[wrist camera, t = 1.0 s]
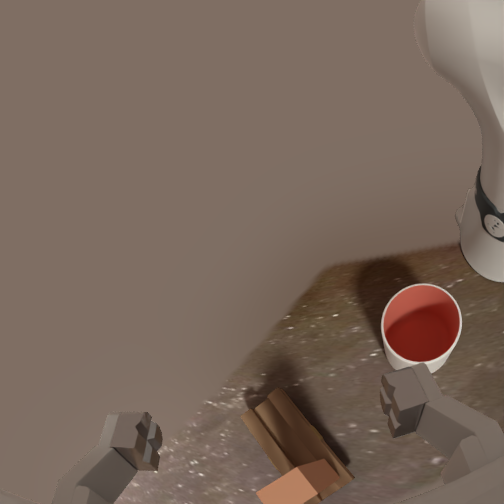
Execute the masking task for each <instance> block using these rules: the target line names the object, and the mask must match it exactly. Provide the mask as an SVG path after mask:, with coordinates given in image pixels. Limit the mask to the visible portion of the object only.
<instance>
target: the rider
mask: <svg viewBox="0 0 504 504" xmlns="http://www.w3.org/2000/svg"><path fill="white" fill-rule="evenodd" d="M339 478H340V477H339V476H338V474H337V473H336V472H335V471H334V470H333V468H332V467H331V466H330V465H329V464H328V462H327V461H326V460H325V459H321V460H318V461H315V462H311V463H308V464H305V465H301V466H297V467H296V468H294V469H293V470H291V471H290V472H288V473H287V474H285V475H284V476H282V477H281V478H279V479H277V480H276V481H274V482H273V483H271V484H269V485H268V486H266V487H265V488H263V489H261V490H260V491H258V492H256V494H257V495H258V497H259V498H260V500H261V501H262V502H263V504H303V503H304V502H306V501H307V500H309V499H311V498H312V497H314V496H315V495H317V494H318V493H320V492H321V491H323V490H324V489H326V488H327V487H328V486H330V485H331V484H332V483H334V482H335V481H337V480H338V479H339Z"/></svg>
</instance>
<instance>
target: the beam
mask: <svg viewBox="0 0 504 504" xmlns="http://www.w3.org/2000/svg"><path fill="white" fill-rule="evenodd" d="M267 396H268V398H267V399H266V400H265V401H264V402H262V403H261V404H260V405H258V406H257V407H256V408H254V409H249V410H248V411H247V412H245V413H244V414H243V415H241V416H240V417H241V418H242V420H243V421H244V423H245V424H246V426H247V427H248V429H249V430H250V431H251V433H252V434H253V436H254V437H255V439H256V440H257V442H258V443H259V444H260V446H261V447H262V449H263V450H264V451H265V453H266V454H267V456H268V458H269V459H270V461H271V462H272V464H273V465H274V466H275V468H276V469H277V470H278V471H279V472H280V473H281V475H282V476H284V475H285V474H287V473H288V472H290V471H291V470H293V469H294V468H296V467H297V466H301V465H305V464H308V463H311V462H315V461H318V460H321V459H325V460H326V461H327V462H328V464H329V465H330V466H331V467H332V468H333V470H334V471H335V472H336V473H337V474H338V476H339V477H340V478H339V479H338V480H337V481H335V482H334V483H332V484H331V485H330V486H328V487H327V488H326V489H324V490H323V491H321V492H320V493H318V494H317V495H315V496H314V497H312V498H311V499H309V500H307V501H306V502H304V504H318V503H319V502H321V501H322V500H323V499H325V498H326V497H328V496H329V495H331V494H332V493H334V492H335V491H337V490H338V489H340V488H342V487H343V486H344V485H346V484H347V483H349V482H350V481H351V480H353V479H354V478H355V477H354V476H353V475H352V473H351V472H350V471H349V470H348V469H347V468H346V466H345V465H344V464H343V463H342V462H341V461H340V459H339V458H338V457H337V456H336V455H335V453H334V452H333V451H332V450H331V449H330V447H329V446H328V445H327V444H326V443H325V441H324V440H323V439H324V438H323V437H322V436H321V435H320V434H319V432H318V431H317V430H316V429H315V427H314V426H311V424H310V423H309V422H308V421H307V419H306V418H305V417H304V416H303V414H302V413H301V412H300V411H299V409H298V408H297V407H296V405H295V404H294V403H293V402H292V400H291V399H290V398H289V397H288V395H287V394H286V393H285V391H284V390H283V389H281V388H279V387H277V388H276V389H275V390H274V391H272V392H271V393H270V394H269V395H267Z"/></svg>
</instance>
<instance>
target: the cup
mask: <svg viewBox="0 0 504 504" xmlns="http://www.w3.org/2000/svg"><path fill="white" fill-rule="evenodd" d="M461 328H462V317H461V312H460V309H459V306H458V304H457V302H456V301H455V299H454V298H453V297H452V296H451V295H450V294H449V293H448V292H447V291H446V290H444V289H442V288H441V287H438V286H436V285H432V284H425V283H423V284H414V285H411V286H408V287H406V288H404V289H402V290H400V291H399V292H398V293H396V294H395V295H394V296H393V297H392V298H391V299H390V301H389V302H388V304H387V305H386V307H385V309H384V312H383V315H382V320H381V332H382V338H383V343H384V349H385V354H386V357H387V359H388V361H389V363H390V364H391V365H392V367H393V368H394V369H395V370H399V369H402V368H405V367H408V366H409V367H410V366H413V365H416V364H419V363H421V362H424V363H425V364H426V365H427V367H428V369H429V371H430V373H433V372H435V371H436V370H438V369H439V368H440V367H441V366H442V365H443V364H444V363H445V361H446V360H447V358H448V356H449V355H450V353H451V351H452V350H453V348H454V346H455V345H456V343H457V341H458V339H459V336H460V333H461Z"/></svg>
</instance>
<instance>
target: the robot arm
mask: <svg viewBox="0 0 504 504" xmlns="http://www.w3.org/2000/svg"><path fill="white" fill-rule="evenodd" d="M414 34H415V38H416V42H417V45H418V47H419V50H420V52H421V54H422V56H423V58H424V59H425V60H426V62H427V63H428V65H429V66H430V67H431V68H432V70H433V71H434V72H435V73H436V74H438V75H439V76H440V77H442V78H443V79H445V80H446V81H447V82H448V83H450V84H451V85H452V86H453V87H454V88H455V89H456V90H457V91H458V92H459V93H460V94H461V95H462V96H463V98H464V99H465V100H466V101H467V103H468V104H469V106H470V107H471V109H472V110H473V112H474V114H475V116H476V118H477V120H478V123H479V126H480V129H481V134H482V164H481V166H480V168H479V171H478V174H477V177H476V182H475V184H474V186H473V187H472V188H471V189H469V190H468V192H467V195H466V200H465V204H464V205H462V206H461V207H460V208H459V209H458V210H457V211H456V214H455V218H456V221H457V223H458V225H459V228H460V243H461V248H462V251H463V254H464V256H465V258H466V260H467V261H468V263H469V264H470V265H471V267H472V268H473V269H474V270H475V271H476V272H478V273H479V274H480V275H482V276H484V277H485V278H488V279H490V280H493V281H497V282H504V0H420V2H419V4H418V6H417V8H416V11H415V16H414ZM381 382H382V385H383V387H382V388H381V389H380V402H381V406H382V409H383V412H384V414H385V415H387V416H389V419H388V426H389V429H390V432H391V434H392V437H393V438H397V437H400V436H403V435H406V434H410V433H413V432H416V434H418V435H419V436H420V437H422V438H423V439H424V440H426V441H427V442H428V443H430V444H431V445H432V446H434V447H435V448H436V449H437V450H439V451H440V452H441V453H443V454H444V455H445V456H447V457H448V458H449V461H448V462H447V464H446V465H445V467H444V468H443V470H442V472H441V476H442V478H443V481H444V484H445V485H443V486H440V487H438V488H436V489H433V490H431V491H428V492H426V493H423V494H420V495H418V496H415V497H412V498H409V499H407V500H404V501H401V502H398V503H395V504H504V434H503V432H502V430H501V428H500V426H499V424H498V423H497V421H495V420H493V419H491V418H489V417H487V416H485V415H483V414H481V413H479V412H478V411H476V410H474V409H472V408H470V407H468V406H466V405H465V404H463V403H461V402H459V401H457V400H455V399H453V398H452V397H450V396H448V395H446V396H443V395H442V393H441V391H440V389H439V387H438V385H437V383H436V382H435V380H434V378H433V376H432V374H431V373H430V371H429V369H428V367H427V365H426V364H425V363H424V362H421V363H419V364H416V365H413V366H410V367H409V366H408V367H405V368H402V369H399V370H396V371H393V372H390V373H387V374H383V375H382V379H381ZM151 418H152V417H151V415H150V414H149V413H148V412H110V413H109V414H108V416H107V419H106V422H105V425H104V428H103V431H102V435H101V438H100V441H99V444H98V446H95V447H94V448H92V449H91V450H90V451H89V452H88V453H87V454H86V455H85V456H84V457H83V458H82V459H81V460H80V461H79V462H78V463H77V464H76V465H74V466H73V467H72V468H71V469H70V470H69V471H68V472H67V473H66V474H65V475H64V476H63V477H62V478H61V479H59V481H58V484H57V488H56V491H55V494H54V498H53V501H52V504H113V503H114V502H115V501H116V499H117V498H118V497H119V496H120V494H121V493H122V492H123V490H124V489H125V488H126V486H127V485H128V484H129V483H130V481H131V480H132V479H133V477H134V476H135V475H136V473H137V472H138V471H137V470H139V471H158V465H159V459H160V456H159V454H158V452H157V451H158V450H159V449H160V448H161V446H162V432H161V430H160V427H159V426H158V425H157V424H156V423H154V422H152V421H151ZM0 504H41V503H38V502H35V501H32V500H29V499H27V498H24V497H21V496H19V495H16V494H14V493H11V492H9V491H6V490H4V489H2V488H0Z"/></svg>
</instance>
